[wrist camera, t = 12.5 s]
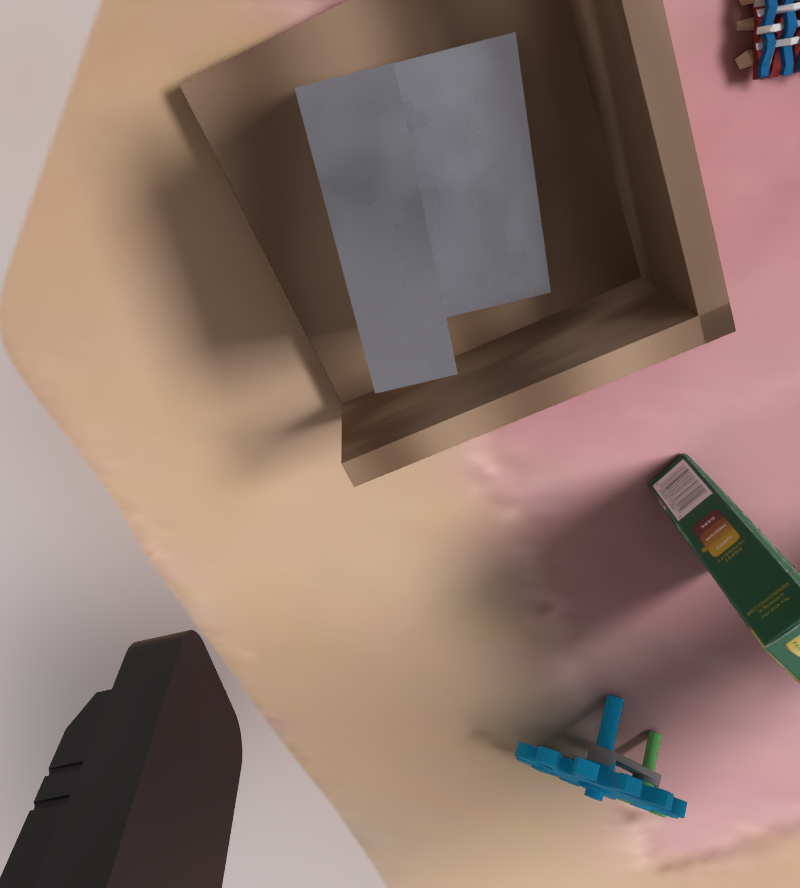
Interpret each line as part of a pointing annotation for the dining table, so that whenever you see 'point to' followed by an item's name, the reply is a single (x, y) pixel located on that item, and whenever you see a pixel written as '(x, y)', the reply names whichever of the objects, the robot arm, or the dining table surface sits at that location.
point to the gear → (609, 768)
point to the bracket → (428, 198)
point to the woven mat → (772, 38)
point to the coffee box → (736, 558)
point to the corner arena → (560, 202)
